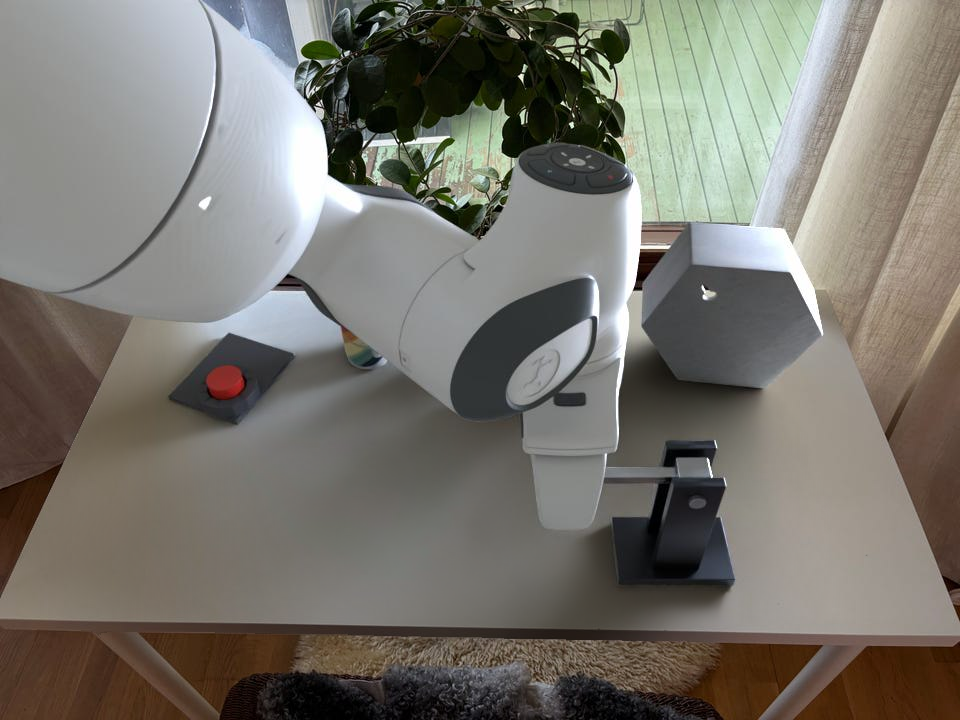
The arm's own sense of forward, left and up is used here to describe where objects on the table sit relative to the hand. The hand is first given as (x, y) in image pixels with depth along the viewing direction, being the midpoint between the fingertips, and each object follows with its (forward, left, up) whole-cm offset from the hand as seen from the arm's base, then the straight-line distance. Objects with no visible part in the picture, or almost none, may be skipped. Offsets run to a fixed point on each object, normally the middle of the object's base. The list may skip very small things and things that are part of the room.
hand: (556, 463), depth 68 cm
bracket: (+4, -11, -15) cm, 19 cm away
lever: (+2, -5, -3) cm, 7 cm away
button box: (+7, +44, -15) cm, 47 cm away
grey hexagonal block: (+33, -9, -15) cm, 37 cm away
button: (+4, +42, -12) cm, 44 cm away
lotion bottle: (+17, +30, -15) cm, 38 cm away
